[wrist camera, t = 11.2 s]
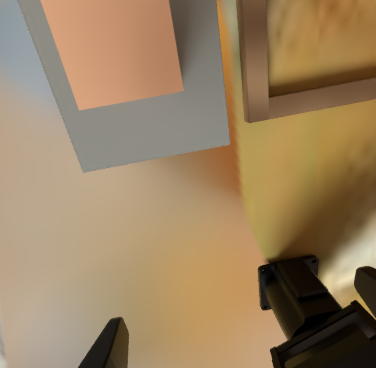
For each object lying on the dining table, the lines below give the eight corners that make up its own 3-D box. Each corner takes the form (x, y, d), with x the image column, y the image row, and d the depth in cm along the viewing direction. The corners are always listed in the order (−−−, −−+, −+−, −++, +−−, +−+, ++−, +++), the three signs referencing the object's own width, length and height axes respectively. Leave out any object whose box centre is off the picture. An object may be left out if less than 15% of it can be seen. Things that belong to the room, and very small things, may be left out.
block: (177, 92, 16) (183, 90, 10) (109, 105, 16) (79, 110, 10) (163, 8, 14) (160, -49, 8) (85, 22, 14) (31, -26, 8)
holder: (423, 87, 18) (440, 86, 17) (244, 121, 18) (249, 122, 17) (466, -102, 14) (492, -120, 13) (231, -61, 13) (237, -76, 12)
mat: (228, 142, 18) (230, 144, 18) (85, 170, 18) (83, 172, 17) (204, -91, 13) (206, -100, 12) (0, -56, 13) (-7, -63, 12)
